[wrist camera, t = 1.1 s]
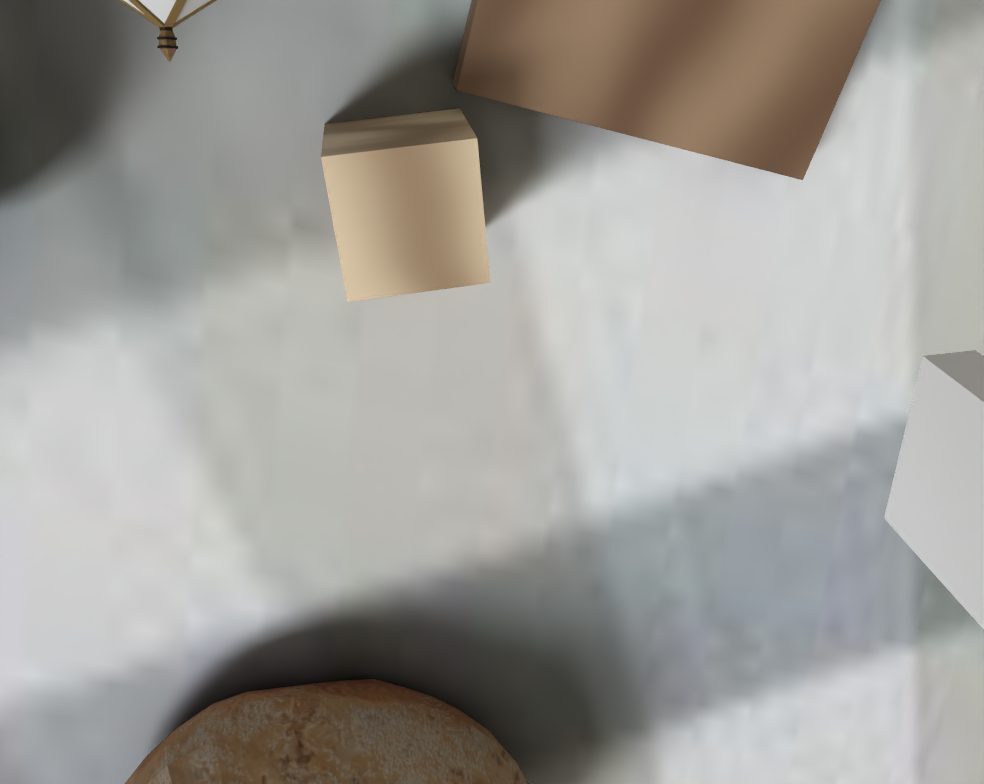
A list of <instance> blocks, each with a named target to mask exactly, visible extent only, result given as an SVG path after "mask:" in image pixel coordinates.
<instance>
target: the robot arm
mask: <svg viewBox="0 0 984 784" xmlns="http://www.w3.org/2000/svg"><path fill="white" fill-rule="evenodd" d="M884 519H885V520H886V521H887V522H888V523H889V524H890V525H891V526H892V528H893V529H894V530H895V531H896V532H897V533H898V534H899V535H900V536H901V538H902V539H903V540H904V541H905V542H906V543H907V544H908V545H909V547H910V548H911V549H912V550H913V551H914V552H915V553H916V554H917V555H918V557H919V558H920V559H921V560H922V561H923V562H924V563H925V564H926V565H927V567H928V568H929V569H930V570H931V571H932V572H933V573H934V574H935V576H936V577H937V578H938V579H939V580H940V581H941V582H942V583H943V584H944V586H945V587H946V588H947V589H948V590H949V591H950V592H951V593H952V594H953V596H954V597H955V598H956V599H957V600H958V601H959V602H960V603H961V605H962V606H963V607H964V608H965V609H966V610H967V611H968V612H969V613H970V615H971V616H972V617H973V618H974V619H975V620H976V621H977V622H978V623H979V625H980V626H981V627H982V628H983V629H984V356H983V355H981V354H980V353H978V352H977V351H975V350H974V351H965V352H956V353H946V354H937V355H928V356H923V358H922V362H921V366H920V370H919V374H918V379H917V383H916V387H915V391H914V395H913V399H912V404H911V408H910V412H909V416H908V420H907V425H906V429H905V433H904V437H903V441H902V446H901V450H900V454H899V458H898V462H897V467H896V471H895V475H894V479H893V483H892V487H891V492H890V496H889V500H888V504H887V508H886V513H885V517H884Z"/></svg>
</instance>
